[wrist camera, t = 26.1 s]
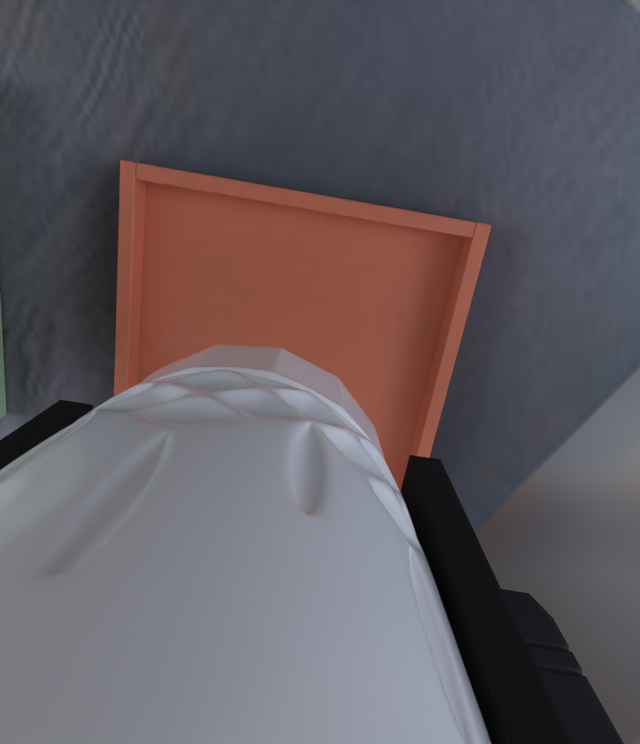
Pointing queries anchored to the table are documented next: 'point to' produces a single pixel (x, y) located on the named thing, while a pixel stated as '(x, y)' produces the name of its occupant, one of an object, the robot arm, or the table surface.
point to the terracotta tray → (297, 289)
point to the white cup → (222, 572)
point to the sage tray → (2, 372)
